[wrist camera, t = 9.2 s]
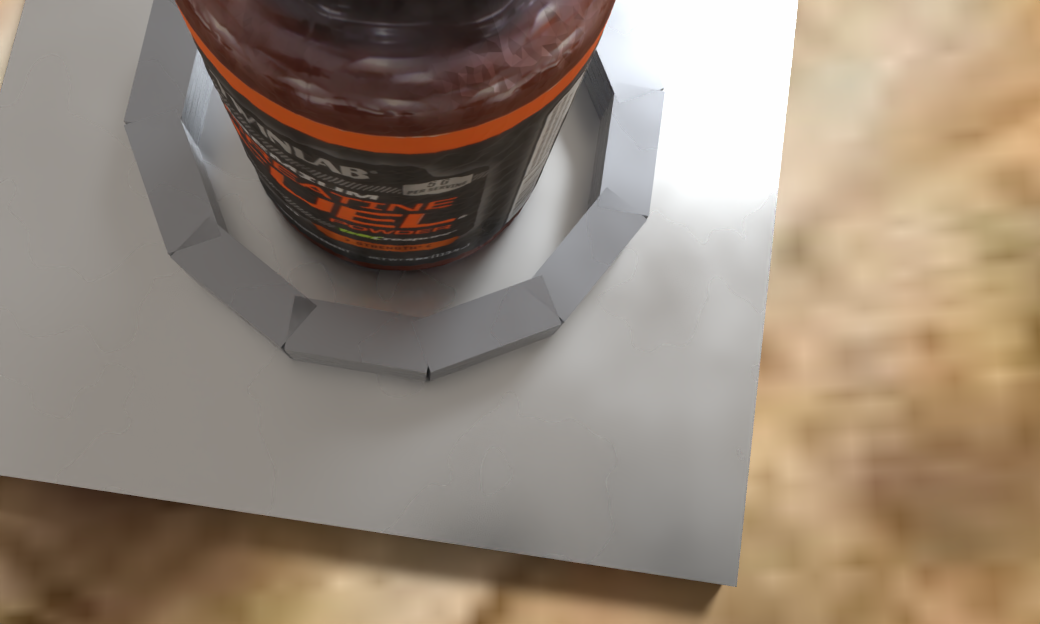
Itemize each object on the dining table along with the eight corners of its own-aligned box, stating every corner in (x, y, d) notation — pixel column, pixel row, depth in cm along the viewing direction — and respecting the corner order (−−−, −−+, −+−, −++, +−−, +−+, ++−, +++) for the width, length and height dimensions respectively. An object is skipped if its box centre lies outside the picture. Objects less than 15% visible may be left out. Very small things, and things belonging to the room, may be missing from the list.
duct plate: (723, 582, 20) (763, 594, 18) (-80, 461, 19) (-148, 457, 16) (797, -108, 23) (839, -172, 21) (113, -251, 22) (79, -336, 20)
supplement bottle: (221, 246, 19) (-39, -84, 8) (291, -22, 20) (145, -631, 9) (516, 308, 20) (647, 72, 9) (568, 41, 21) (742, -468, 10)
